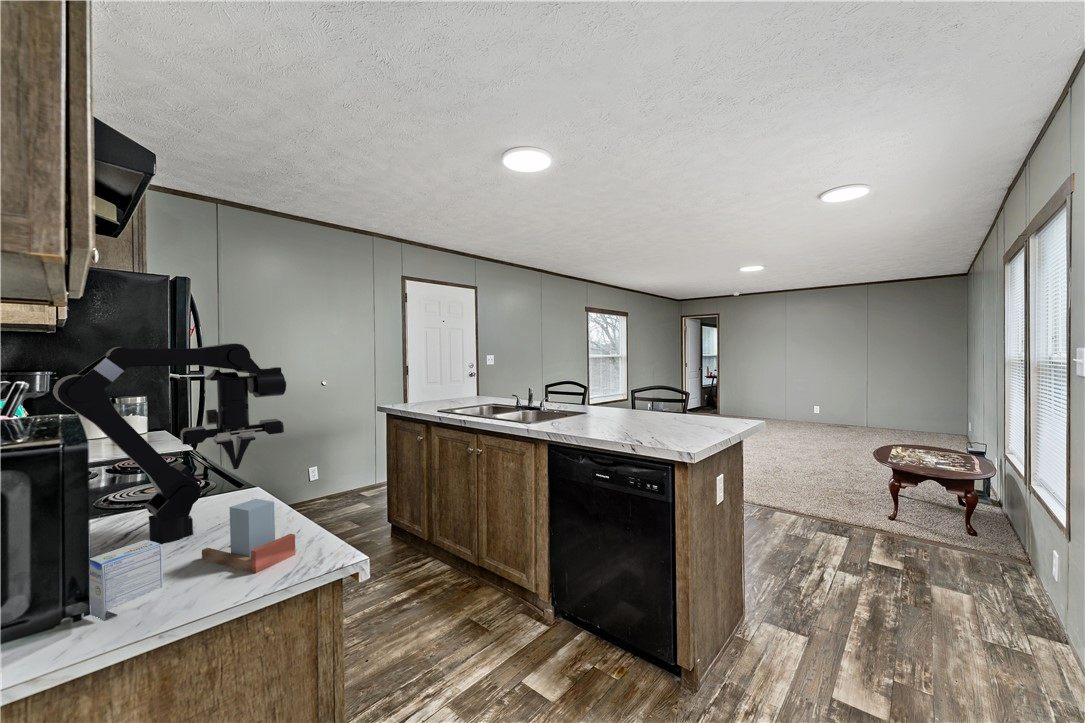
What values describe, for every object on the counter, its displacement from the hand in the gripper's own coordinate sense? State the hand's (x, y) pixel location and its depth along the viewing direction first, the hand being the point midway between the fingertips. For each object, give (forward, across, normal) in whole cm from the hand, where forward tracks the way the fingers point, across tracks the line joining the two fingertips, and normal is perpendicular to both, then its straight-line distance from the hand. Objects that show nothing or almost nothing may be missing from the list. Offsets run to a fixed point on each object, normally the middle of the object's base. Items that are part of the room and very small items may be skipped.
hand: (235, 468), depth 105 cm
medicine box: (+13, +19, +26) cm, 35 cm away
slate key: (+12, +1, +24) cm, 27 cm away
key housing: (+13, +2, +23) cm, 27 cm away
